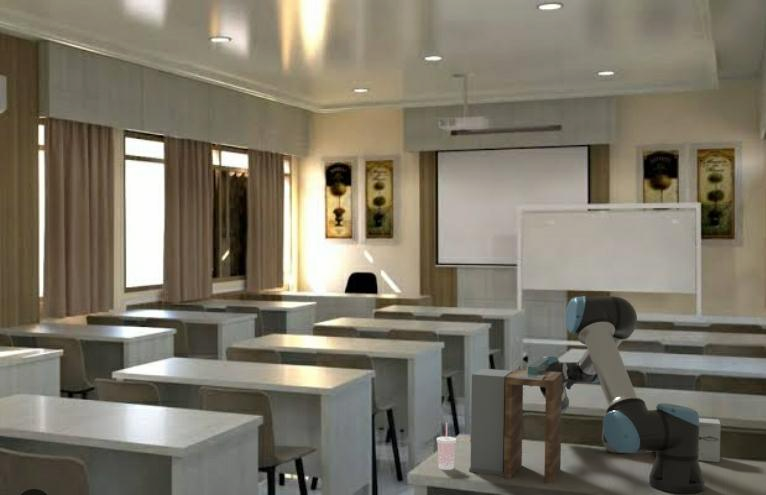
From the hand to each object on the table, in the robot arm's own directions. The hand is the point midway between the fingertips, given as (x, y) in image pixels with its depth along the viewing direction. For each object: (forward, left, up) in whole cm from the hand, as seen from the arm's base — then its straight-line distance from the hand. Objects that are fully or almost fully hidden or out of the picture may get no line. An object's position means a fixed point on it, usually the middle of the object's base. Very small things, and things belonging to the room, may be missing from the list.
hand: (542, 365), depth 277 cm
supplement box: (-49, -24, -31) cm, 63 cm away
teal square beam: (0, +12, 0) cm, 12 cm away
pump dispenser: (-21, -22, -31) cm, 43 cm away
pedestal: (+13, +15, -30) cm, 36 cm away
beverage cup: (+26, +20, -31) cm, 45 cm away
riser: (0, +16, -30) cm, 34 cm away
